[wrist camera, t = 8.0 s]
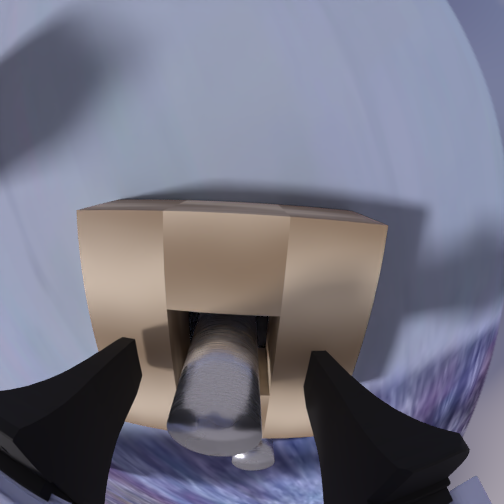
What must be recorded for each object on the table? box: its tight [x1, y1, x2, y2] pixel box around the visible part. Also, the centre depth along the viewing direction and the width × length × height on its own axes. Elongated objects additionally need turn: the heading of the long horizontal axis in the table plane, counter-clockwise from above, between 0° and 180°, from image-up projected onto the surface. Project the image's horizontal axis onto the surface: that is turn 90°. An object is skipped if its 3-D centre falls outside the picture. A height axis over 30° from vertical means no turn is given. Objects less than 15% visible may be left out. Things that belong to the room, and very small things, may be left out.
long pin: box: [167, 312, 262, 456], centre depth 11 cm, size 3×3×8 cm
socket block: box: [77, 200, 388, 438], centre depth 13 cm, size 12×12×4 cm
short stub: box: [232, 438, 274, 471], centre depth 16 cm, size 3×3×3 cm
